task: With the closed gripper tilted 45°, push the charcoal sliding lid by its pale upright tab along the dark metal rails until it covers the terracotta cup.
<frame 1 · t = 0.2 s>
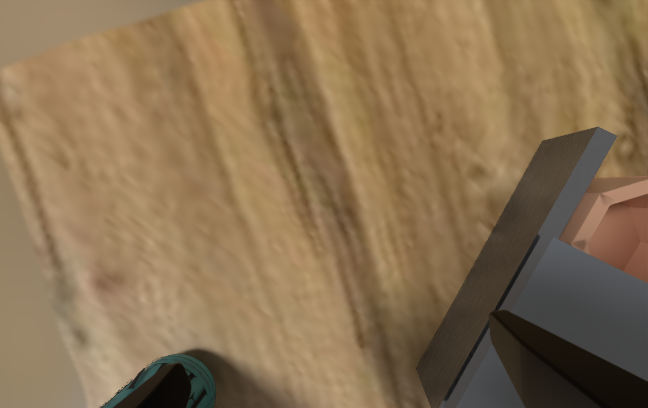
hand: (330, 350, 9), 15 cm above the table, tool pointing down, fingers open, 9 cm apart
terracotta cup: (583, 236, 23), on the table
beverage bottle: (190, 377, 26), on the table
metal rails: (549, 294, 23), on the table
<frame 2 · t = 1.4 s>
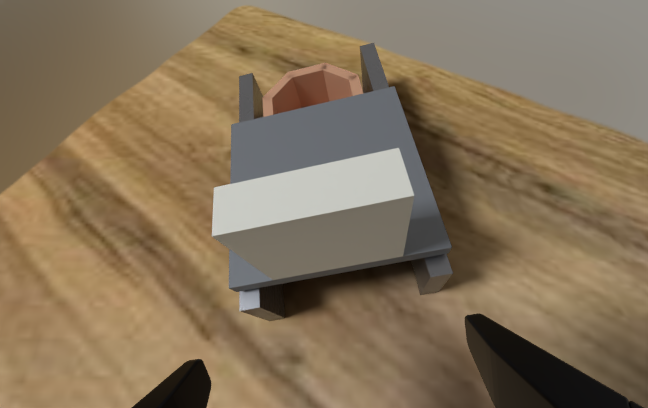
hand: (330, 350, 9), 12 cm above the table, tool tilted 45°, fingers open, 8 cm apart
terracotta cup: (322, 140, 28), on the table
sliding lid: (312, 147, 16), point 9 cm above the table, slide at 0.0 cm
metal rails: (330, 186, 26), on the table
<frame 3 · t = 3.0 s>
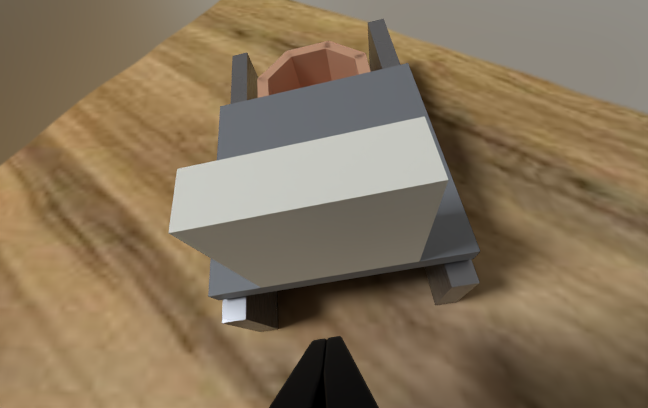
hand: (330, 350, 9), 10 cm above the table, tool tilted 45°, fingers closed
terracotta cup: (325, 129, 25), on the table
sliding lid: (311, 127, 14), point 9 cm above the table, slide at 0.0 cm
metal rails: (332, 179, 23), on the table
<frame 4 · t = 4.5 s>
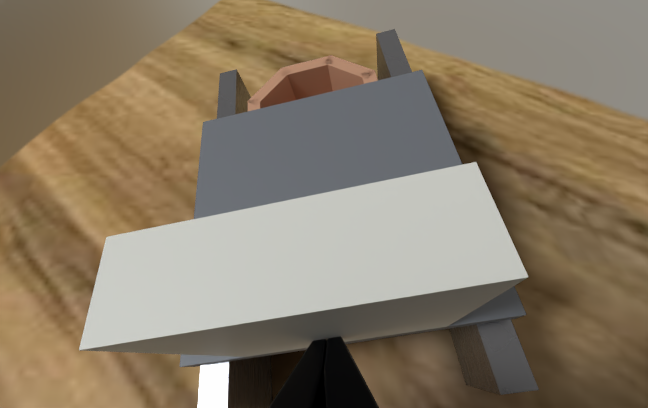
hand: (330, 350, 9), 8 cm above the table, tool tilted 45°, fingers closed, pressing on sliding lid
terracotta cup: (327, 156, 22), on the table
sliding lid: (306, 154, 11), point 9 cm above the table, slide at 1.2 cm, touching gripper
metal rails: (337, 217, 20), on the table
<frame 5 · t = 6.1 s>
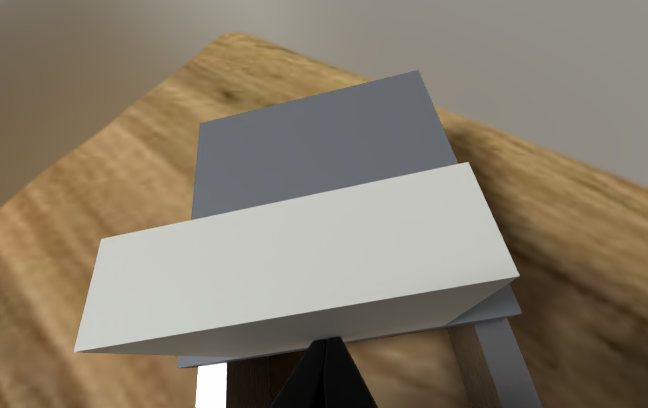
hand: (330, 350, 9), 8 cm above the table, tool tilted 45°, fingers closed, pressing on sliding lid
sliding lid: (303, 154, 11), point 9 cm above the table, slide at 8.6 cm, touching gripper
metal rails: (355, 341, 16), on the table
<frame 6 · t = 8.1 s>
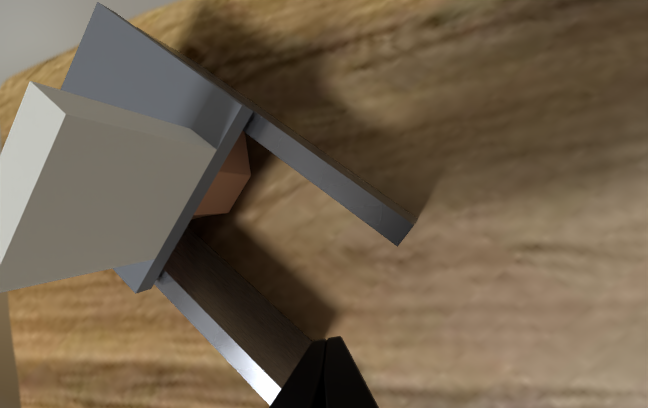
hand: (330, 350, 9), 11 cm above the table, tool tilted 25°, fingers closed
terracotta cup: (203, 163, 23), on the table
sliding lid: (59, 134, 15), point 9 cm above the table, slide at 8.7 cm
metal rails: (249, 202, 22), on the table
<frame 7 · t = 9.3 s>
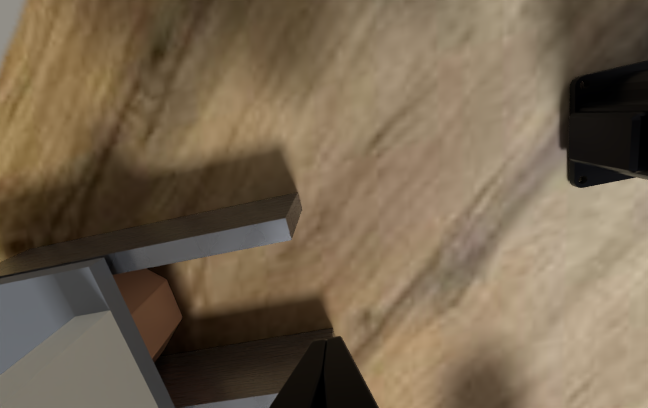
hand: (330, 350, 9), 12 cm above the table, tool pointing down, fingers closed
terracotta cup: (126, 307, 23), on the table
metal rails: (187, 296, 22), on the table
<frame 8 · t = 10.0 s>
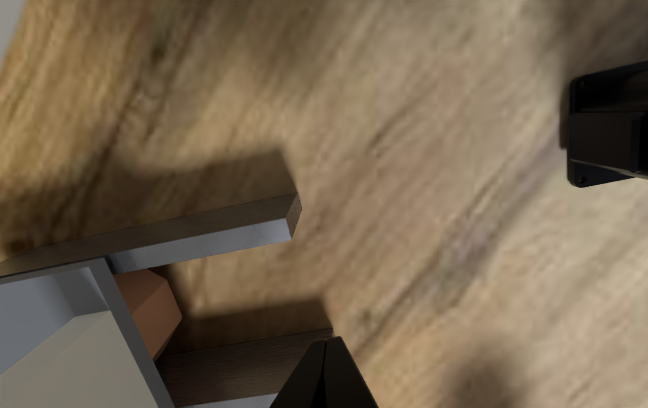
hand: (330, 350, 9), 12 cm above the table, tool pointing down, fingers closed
terracotta cup: (126, 307, 23), on the table
metal rails: (187, 296, 22), on the table
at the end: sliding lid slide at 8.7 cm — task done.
